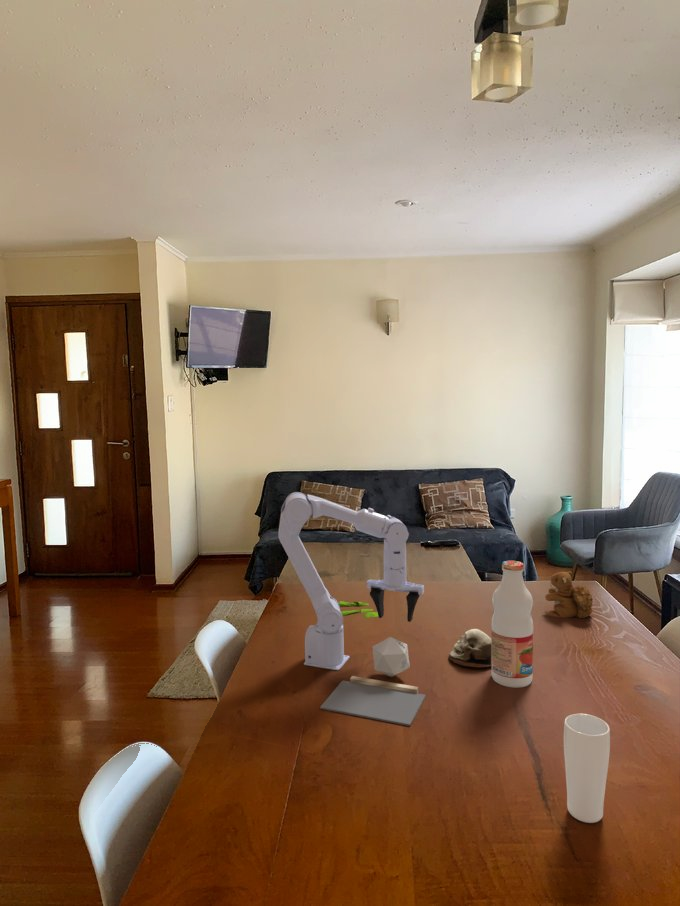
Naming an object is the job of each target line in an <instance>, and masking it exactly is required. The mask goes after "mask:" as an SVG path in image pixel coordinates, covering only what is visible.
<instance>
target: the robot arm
mask: <svg viewBox="0 0 680 906" xmlns="http://www.w3.org/2000/svg"><path fill="white" fill-rule="evenodd" d="M311 516H312V519H313V520H314V519H316V518H319V517H322V516H326V517H329V518H333V519H336V520H339V521H343V522H346V523H349V524H353V526H354V528H355V531H358V532H361V533H364V534H367V535H370V536H373V537H376V538H378V539H383V579H368V580H367V581H366V589H367V590H370V591H369V596H370V598H371V599H372V601H373V603H374V605H375V608H376V612H378V616H377V617H378V619H382V618H383V617H384V613H385V609H384V607H385V606H384V599H385V598H384V596H385V591H391V592H402V593H408V594H407V595H406V596H405V597H406V598H405V599H406V604H407V607H406V608H407V614H406V615H407V616H406V617H407V622H409V623H410V622H412V620H413V617H414V611H415V609H416V605H417V602H418V600H419V598H420V596H423V594H424V593H425V585H424V584H419V583H414V582H409V581H407V547H406V546H407V545H406V544H407V540H408V538H409V535H410V532H409V531H408V527H407V525H405V524H404V523H403V521H401V520H400V519H398V518H396V517H395V516H391V515H390V514H387V515H384V514H382V513H377V512H376V511H375V509H374V508H371V507H368V508H367V509H366V508H362V509H360V510H357V511H356V510H354V509H351V508H349V507H346V506H345V505H341V504H338V503H336V502H333V501H330V500H328V499H326V498H323V497H319V496H316V495H312V494H305V493H303V492H299V491H294V492H292V493H289V494H288V495H287V497H286V498H285V500H284V501H283V504H282V506H281V509H280V518H279V525H278V536H277V537H278V540H279V542H280V544H281V545H282V548H283V549H284V551H285V553H286V556H288V559H289V561H290V563H291V565H292V567H293V569H294V571H295V573H296V574H297V576H298V578H299V580H300V582H301V584H302V586H303V588H304V590H305V591H306V594H307V595H308V597H309V599H310V602H311V604H312V606H313V609H314V611H315V614H316V617H317V622H316V624H315V625H312V624H311V625H309V626H308V628H307V629H306V631H305V636H304V654H305V655H304V656H305V657H304V660H305V661H304V662H303V665H304V666H309V667H315V668H320V669H321V668H322V669H328V670H334V671H339V670H340V669H341V668H342V667H344V665H345V664H346V662H347V661H348V660H349V659H351V657H350V655H347V654H345V647H344V646H345V645H344V644H345V643H344V642H345V639H344V616H342V614H341V612H342V611H341V607H339V602H338V601H337V599H336V598H334V597H332V596H331V594H330V592H329V590H328V589H327V588H326V587H325V585H324V582H323V580H322V578H321V577H320V574H319V573H318V571H317V569H316V567H315V564H314V562H313V561H312V559H311V557H310V555H309V553H308V551H307V550H306V548H305V546H304V543H303V542H302V540H301V537H300V533H301V532H302V531H301V530H302V528H303V526H304V525H305V523H307V521H308V520H309V519H310V517H311Z"/></svg>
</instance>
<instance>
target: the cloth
mask: <svg viewBox="0 0 680 906" xmlns="http://www.w3.org/2000/svg"><path fill="white" fill-rule="evenodd" d="M338 603H339V607H340V608H341V607H369V606H370V605H369V603H366V602H361V601H353V602H347V601H343V600H340V601H339V602H338ZM340 612H341V614H342V616H343V617H345V616H348V615H354V614H359V613H361V614H363V613H364V615H363V617H364V618H367V619H369V618H376V617H379V616H378V612H377V611H374V609H373V608H363V609H362V608H361V609H360V610H359V609H358V610H357V609H353V610H352V609H351V610H343V611H340Z"/></svg>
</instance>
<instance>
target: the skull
mask: <svg viewBox="0 0 680 906" xmlns="http://www.w3.org/2000/svg"><path fill="white" fill-rule="evenodd" d="M448 658H449V659H450V661H452V662H453V663H455V664H458V666H459V665H460V666H464V667H471V668H488V667H491V637H490V636H489V635H488V634H487V633H485V632H484V631H482V630H480V629H479V628H472V629H469V630H467V631H465V632H464V635H461V636H460V637H459V640H457V642H455V644H454V645H453V650H452V651H451V652H450V653H449V655H448Z"/></svg>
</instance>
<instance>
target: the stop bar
mask: <svg viewBox="0 0 680 906" xmlns="http://www.w3.org/2000/svg"><path fill="white" fill-rule="evenodd" d="M349 679H350V681H349V682H354V683H360V684H366V685H372V686H378V687H384V688H389V689H395V690H401V691H407V692H413V693H418V694H419V686H415V685H408V684H403V683H397V682H392V681H391V682H390V681H384V680H378V679H373V678H367V677H361V676H355V675H351V677H350V678H349Z"/></svg>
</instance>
